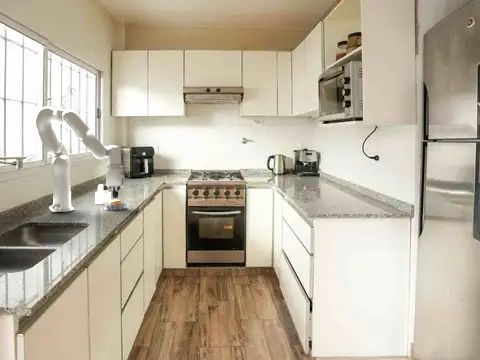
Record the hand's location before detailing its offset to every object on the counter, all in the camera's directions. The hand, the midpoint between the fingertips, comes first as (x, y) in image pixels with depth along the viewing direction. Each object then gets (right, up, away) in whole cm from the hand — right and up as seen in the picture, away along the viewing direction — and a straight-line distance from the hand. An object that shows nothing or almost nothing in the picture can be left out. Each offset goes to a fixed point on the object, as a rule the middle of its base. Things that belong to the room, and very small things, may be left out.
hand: (115, 197), depth 282 cm
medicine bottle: (-14, -5, +22) cm, 26 cm away
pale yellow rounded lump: (0, -6, +1) cm, 6 cm away
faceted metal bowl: (0, -7, +1) cm, 7 cm away
